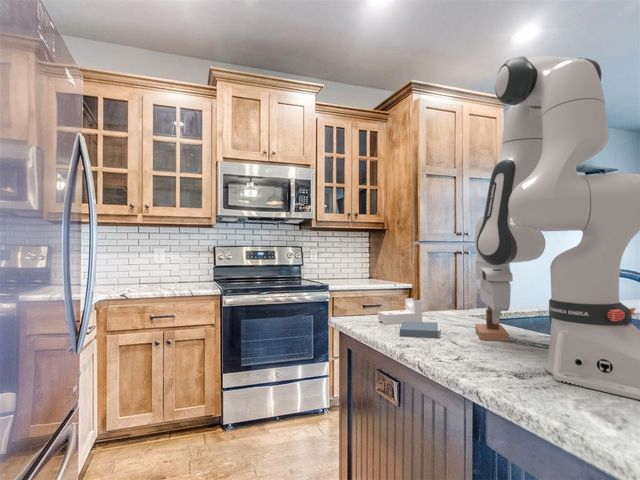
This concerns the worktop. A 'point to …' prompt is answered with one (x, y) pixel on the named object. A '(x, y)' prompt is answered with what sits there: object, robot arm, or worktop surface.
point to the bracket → (403, 313)
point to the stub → (491, 330)
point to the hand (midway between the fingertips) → (494, 322)
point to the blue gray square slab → (420, 329)
